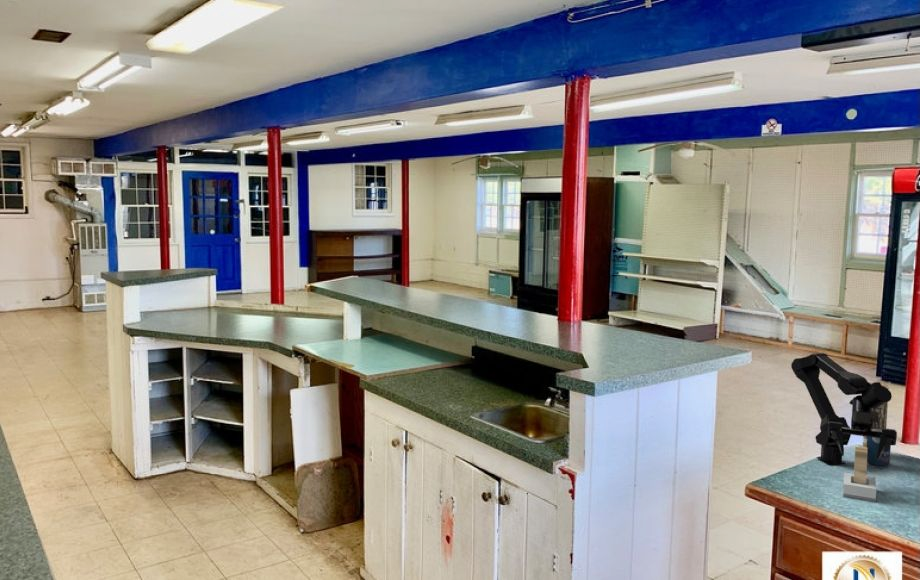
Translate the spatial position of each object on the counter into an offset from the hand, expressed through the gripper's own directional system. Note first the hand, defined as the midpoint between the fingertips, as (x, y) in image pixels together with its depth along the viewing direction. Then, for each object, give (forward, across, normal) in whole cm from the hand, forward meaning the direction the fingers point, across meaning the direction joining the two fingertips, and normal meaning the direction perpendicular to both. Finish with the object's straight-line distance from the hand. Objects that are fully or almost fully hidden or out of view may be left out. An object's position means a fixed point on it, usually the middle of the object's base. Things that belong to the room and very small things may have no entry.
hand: (860, 457), depth 214 cm
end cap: (+9, 0, +6) cm, 11 cm away
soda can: (-11, +5, +27) cm, 30 cm away
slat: (+8, 0, +5) cm, 10 cm away
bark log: (-19, +4, +34) cm, 40 cm away
